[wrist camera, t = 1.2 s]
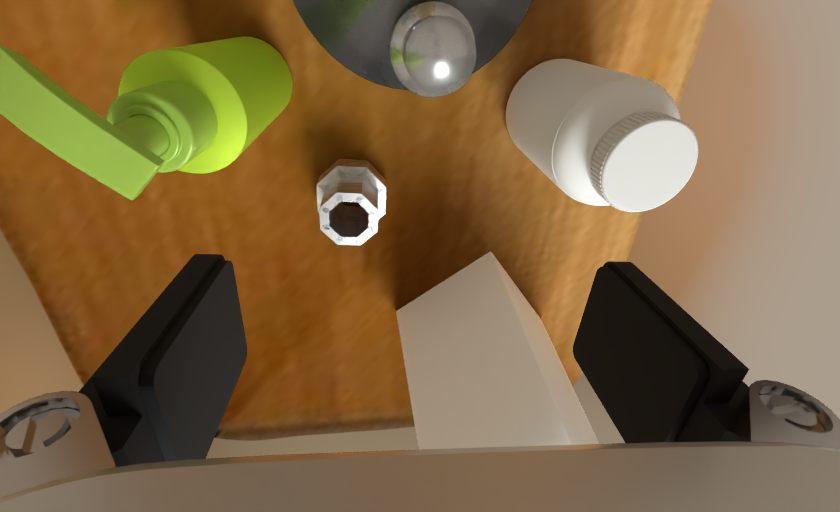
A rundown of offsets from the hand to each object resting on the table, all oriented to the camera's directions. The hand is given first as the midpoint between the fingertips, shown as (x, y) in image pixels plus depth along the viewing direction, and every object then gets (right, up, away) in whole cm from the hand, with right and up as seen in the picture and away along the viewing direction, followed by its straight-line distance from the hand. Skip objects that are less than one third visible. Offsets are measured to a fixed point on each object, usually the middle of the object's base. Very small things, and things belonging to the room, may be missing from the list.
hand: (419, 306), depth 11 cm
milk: (+6, -5, +35) cm, 36 cm away
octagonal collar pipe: (-6, +7, +26) cm, 28 cm away
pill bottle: (+11, +14, +24) cm, 30 cm away
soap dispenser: (-13, +15, +21) cm, 29 cm away
